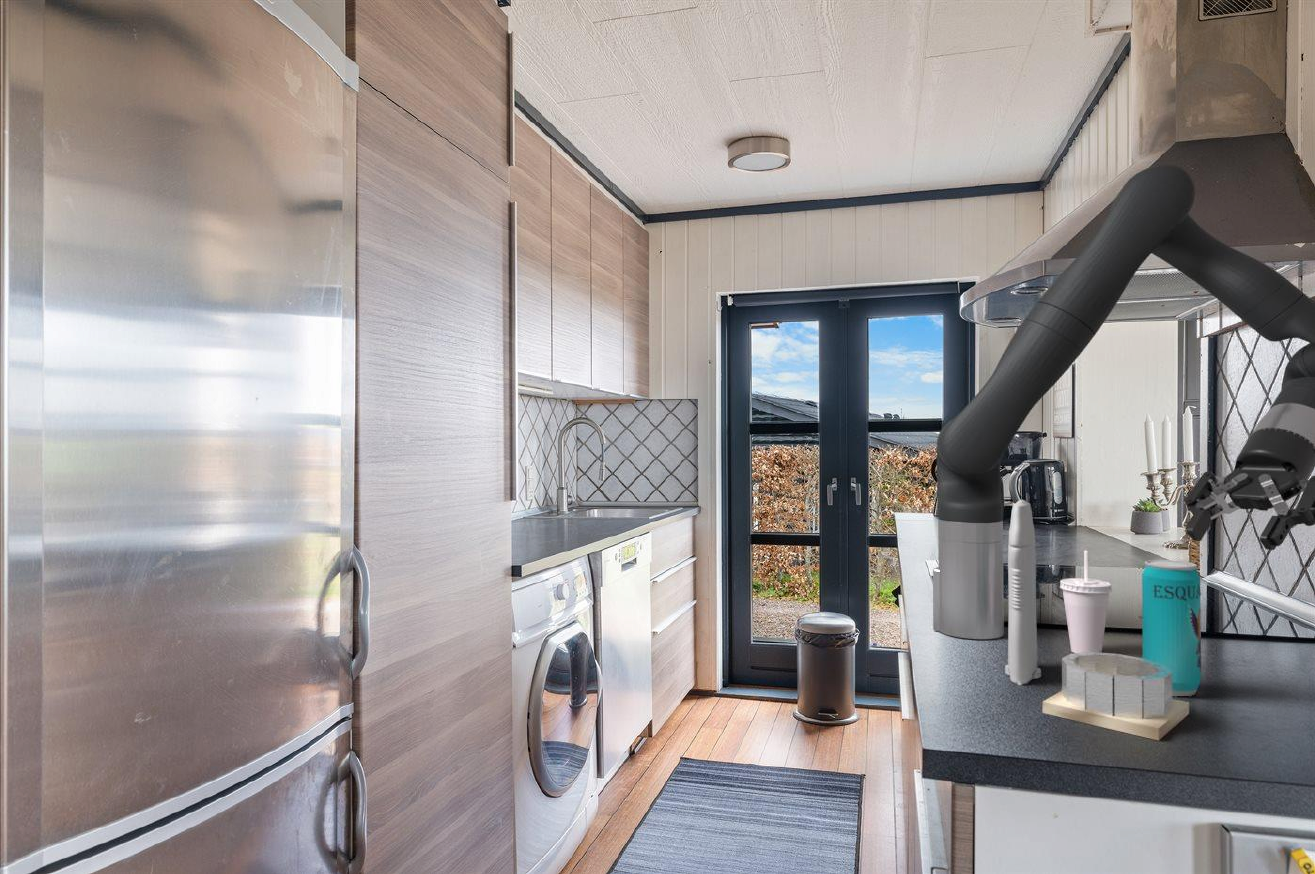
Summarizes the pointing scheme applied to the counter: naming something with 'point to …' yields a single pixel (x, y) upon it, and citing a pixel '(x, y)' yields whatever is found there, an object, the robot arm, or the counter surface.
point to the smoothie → (1086, 610)
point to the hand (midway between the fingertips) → (1228, 540)
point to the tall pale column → (1022, 597)
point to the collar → (1117, 685)
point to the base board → (1118, 718)
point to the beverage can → (1173, 621)
